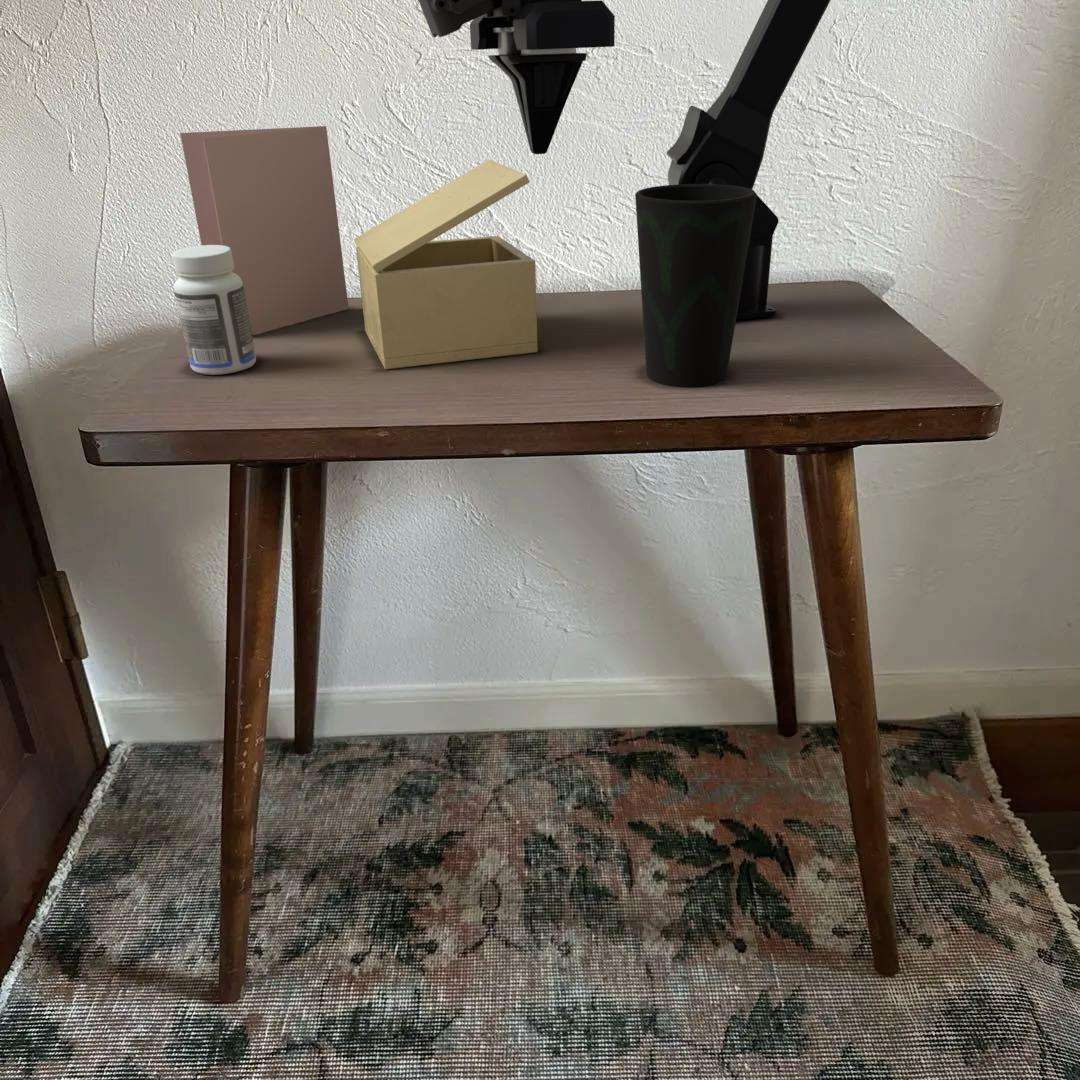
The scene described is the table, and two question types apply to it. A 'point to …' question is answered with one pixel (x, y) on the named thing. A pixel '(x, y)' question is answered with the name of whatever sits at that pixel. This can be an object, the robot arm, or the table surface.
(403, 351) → the pale yellow box
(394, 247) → the lid
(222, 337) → the pill bottle
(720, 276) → the cup
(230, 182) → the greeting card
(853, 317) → the table surface
